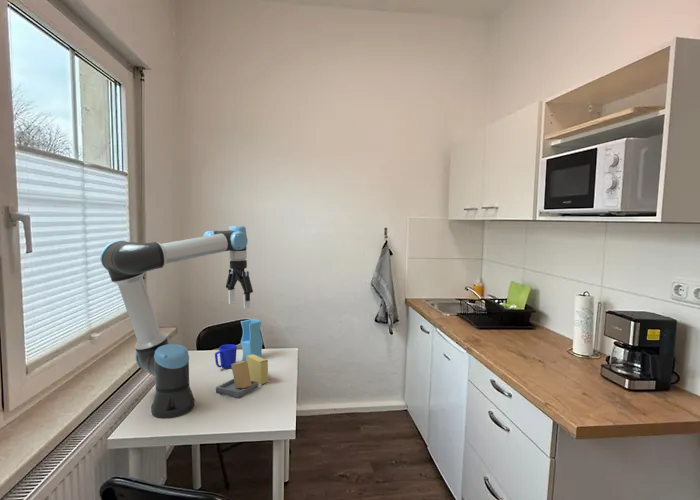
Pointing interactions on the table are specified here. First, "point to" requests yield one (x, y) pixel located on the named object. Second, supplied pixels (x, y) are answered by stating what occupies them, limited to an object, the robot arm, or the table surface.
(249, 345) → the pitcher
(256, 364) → the grey-ended yellow block
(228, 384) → the tray
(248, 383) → the stub
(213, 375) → the table surface
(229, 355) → the mug
